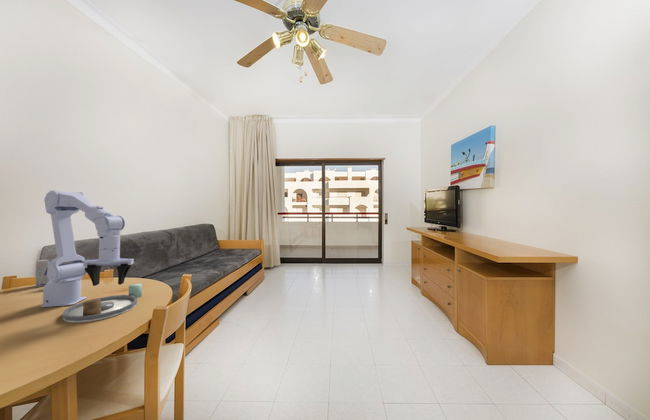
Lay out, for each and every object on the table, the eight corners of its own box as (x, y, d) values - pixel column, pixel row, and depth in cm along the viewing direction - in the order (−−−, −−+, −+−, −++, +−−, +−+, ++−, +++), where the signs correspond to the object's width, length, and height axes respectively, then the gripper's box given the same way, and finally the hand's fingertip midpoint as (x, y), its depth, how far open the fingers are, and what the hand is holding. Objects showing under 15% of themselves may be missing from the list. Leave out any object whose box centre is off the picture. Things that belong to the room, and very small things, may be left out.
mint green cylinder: (126, 299, 95) (126, 287, 95) (131, 295, 99) (131, 283, 99) (138, 298, 96) (139, 286, 97) (143, 294, 101) (143, 283, 101)
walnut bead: (79, 318, 77) (79, 304, 77) (88, 313, 81) (88, 299, 81) (95, 317, 78) (96, 302, 78) (103, 311, 82) (104, 297, 82)
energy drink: (56, 283, 111) (57, 259, 111) (42, 287, 106) (42, 261, 106) (47, 283, 112) (47, 258, 112) (32, 286, 107) (32, 261, 107)
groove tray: (45, 325, 73) (45, 320, 73) (88, 301, 92) (88, 297, 92) (120, 318, 79) (120, 313, 79) (146, 297, 97) (146, 293, 97)
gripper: (77, 250, 80) (76, 289, 80) (127, 249, 84) (126, 286, 84) (91, 247, 86) (90, 283, 86) (136, 246, 90) (135, 280, 90)
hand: (108, 284), depth 85 cm, fingers open, 7 cm apart
